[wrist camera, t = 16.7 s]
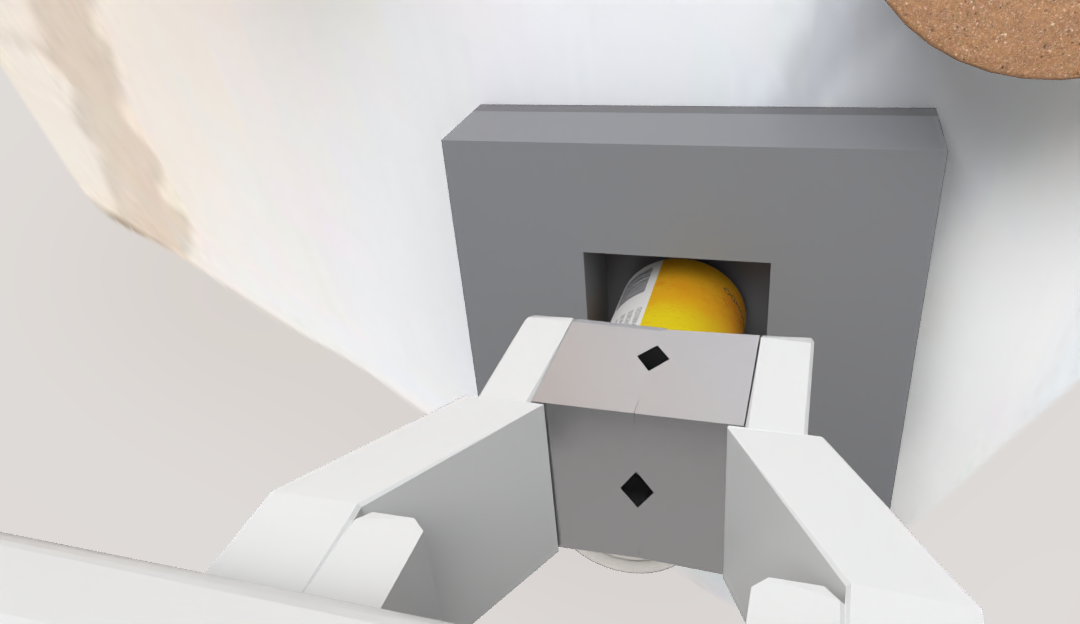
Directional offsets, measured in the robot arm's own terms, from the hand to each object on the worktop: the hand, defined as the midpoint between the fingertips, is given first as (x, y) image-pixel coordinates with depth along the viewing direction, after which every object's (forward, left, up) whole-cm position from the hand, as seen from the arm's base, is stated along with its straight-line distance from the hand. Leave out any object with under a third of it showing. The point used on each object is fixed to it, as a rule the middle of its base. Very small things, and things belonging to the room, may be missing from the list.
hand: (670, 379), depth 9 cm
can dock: (+4, +16, -30) cm, 34 cm away
